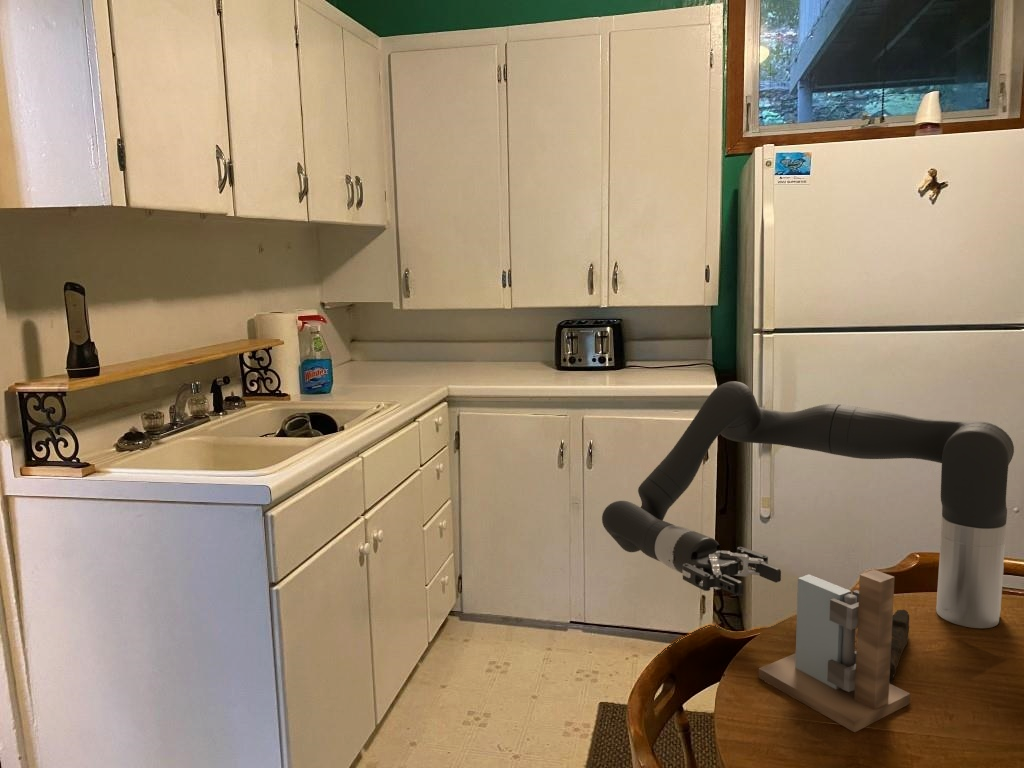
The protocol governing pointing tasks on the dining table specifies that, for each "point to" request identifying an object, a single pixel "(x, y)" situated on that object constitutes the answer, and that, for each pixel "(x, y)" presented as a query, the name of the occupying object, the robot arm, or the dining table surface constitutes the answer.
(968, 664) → the dining table surface
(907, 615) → the hand tool
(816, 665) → the cabinet door
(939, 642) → the dining table surface
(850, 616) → the hinge frame
